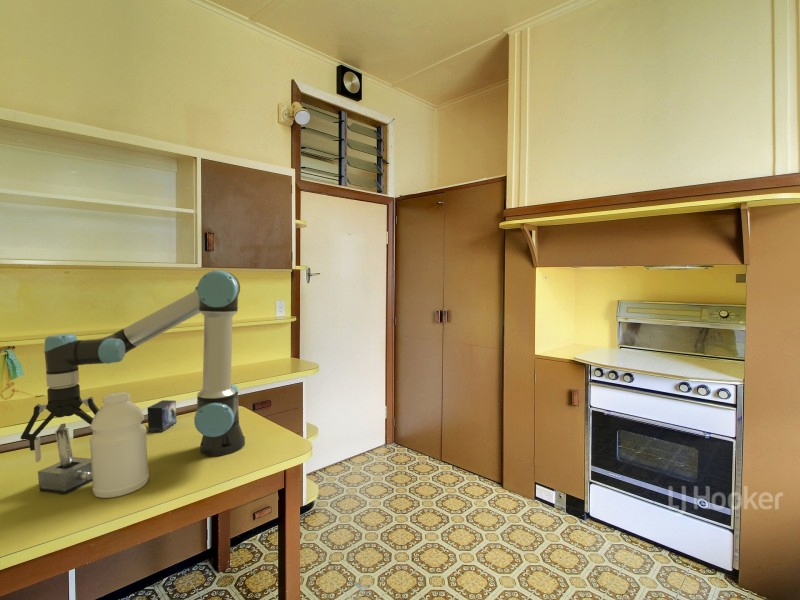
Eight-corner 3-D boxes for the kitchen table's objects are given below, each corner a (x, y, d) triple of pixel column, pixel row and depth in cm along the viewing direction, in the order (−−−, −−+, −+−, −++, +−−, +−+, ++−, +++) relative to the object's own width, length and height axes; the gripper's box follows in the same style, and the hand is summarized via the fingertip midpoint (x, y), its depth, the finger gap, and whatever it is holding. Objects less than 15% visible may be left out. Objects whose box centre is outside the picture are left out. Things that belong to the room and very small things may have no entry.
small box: (163, 432, 165) (161, 407, 164) (147, 432, 165) (146, 407, 164) (177, 423, 175) (176, 399, 175) (163, 423, 175) (161, 400, 175)
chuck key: (74, 483, 121) (65, 428, 120) (61, 486, 119) (52, 431, 118) (77, 474, 127) (69, 422, 126) (65, 477, 125) (57, 425, 124)
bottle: (86, 503, 112) (79, 404, 111) (100, 481, 125) (94, 392, 123) (145, 492, 118) (139, 397, 116) (152, 471, 130) (148, 386, 129)
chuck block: (104, 478, 126) (103, 459, 126) (72, 495, 117) (70, 475, 116) (73, 475, 129) (72, 456, 129) (39, 491, 119) (37, 471, 119)
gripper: (114, 377, 131) (118, 441, 132) (11, 389, 118) (16, 460, 119) (113, 381, 125) (116, 448, 126) (3, 395, 112) (8, 470, 113)
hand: (67, 454), depth 123 cm, fingers open, 13 cm apart
